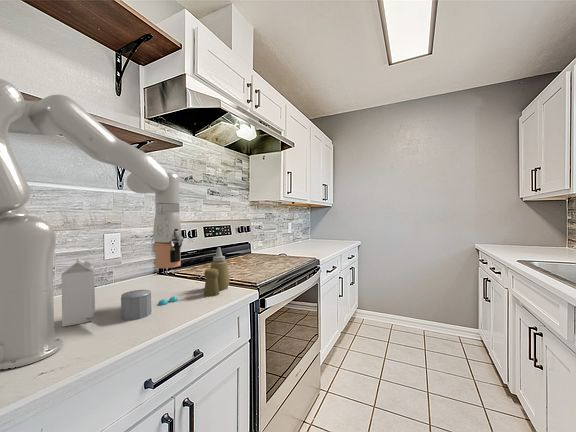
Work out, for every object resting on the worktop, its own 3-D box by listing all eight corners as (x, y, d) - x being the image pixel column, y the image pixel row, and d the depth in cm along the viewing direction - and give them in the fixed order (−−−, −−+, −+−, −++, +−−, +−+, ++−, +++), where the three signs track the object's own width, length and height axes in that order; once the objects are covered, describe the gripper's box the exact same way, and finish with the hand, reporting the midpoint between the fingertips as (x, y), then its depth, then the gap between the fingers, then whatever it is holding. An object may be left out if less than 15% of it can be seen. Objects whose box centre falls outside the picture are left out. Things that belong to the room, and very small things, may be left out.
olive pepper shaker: (199, 299, 99) (199, 269, 98) (211, 294, 104) (211, 266, 104) (212, 301, 96) (211, 271, 96) (223, 297, 101) (223, 268, 101)
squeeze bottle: (205, 291, 108) (205, 247, 108) (223, 287, 114) (223, 245, 113) (214, 296, 102) (214, 249, 102) (233, 291, 108) (232, 247, 107)
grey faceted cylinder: (129, 327, 75) (128, 299, 74) (117, 321, 79) (116, 294, 79) (156, 318, 81) (155, 292, 81) (143, 313, 85) (143, 288, 85)
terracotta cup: (163, 269, 86) (163, 244, 86) (151, 266, 90) (151, 243, 90) (185, 265, 92) (184, 242, 92) (172, 263, 97) (172, 241, 97)
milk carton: (62, 327, 75) (60, 260, 75) (66, 319, 81) (65, 257, 81) (93, 321, 79) (92, 257, 79) (95, 314, 85) (94, 254, 85)
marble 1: (162, 311, 88) (159, 303, 87) (158, 309, 90) (154, 302, 89) (170, 305, 90) (167, 298, 89) (166, 303, 92) (163, 296, 91)
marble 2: (172, 307, 91) (171, 298, 90) (167, 305, 92) (166, 297, 92) (180, 304, 93) (179, 296, 93) (175, 302, 95) (174, 294, 95)
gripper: (143, 209, 93) (144, 259, 93) (171, 208, 83) (172, 265, 83) (164, 209, 99) (165, 257, 99) (192, 209, 89) (193, 261, 89)
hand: (168, 260), depth 91 cm, fingers closed on terracotta cup, 7 cm apart
